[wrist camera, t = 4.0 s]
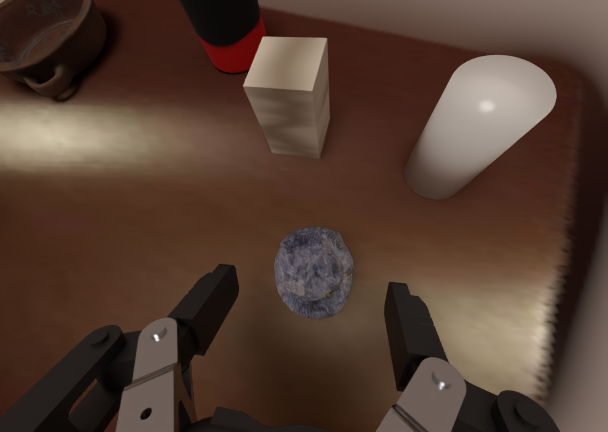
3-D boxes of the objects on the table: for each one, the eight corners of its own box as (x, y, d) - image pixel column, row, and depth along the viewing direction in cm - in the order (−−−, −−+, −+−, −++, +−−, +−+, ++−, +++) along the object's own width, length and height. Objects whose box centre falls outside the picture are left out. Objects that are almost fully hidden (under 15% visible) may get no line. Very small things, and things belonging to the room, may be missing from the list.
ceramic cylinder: (394, 183, 21) (433, 106, 12) (418, 142, 22) (470, 45, 13) (449, 209, 19) (537, 142, 11) (472, 164, 20) (569, 71, 12)
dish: (5, 129, 31) (-54, 99, 26) (20, 32, 38) (-23, -4, 34) (127, 82, 31) (90, 43, 26) (117, -6, 39) (87, -47, 34)
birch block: (272, 152, 24) (243, 86, 16) (284, 114, 25) (263, 36, 18) (319, 159, 23) (312, 90, 15) (329, 118, 24) (327, 38, 17)
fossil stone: (363, 266, 19) (391, 236, 9) (327, 324, 18) (318, 356, 8) (310, 231, 20) (288, 176, 11) (274, 283, 19) (215, 271, 10)
